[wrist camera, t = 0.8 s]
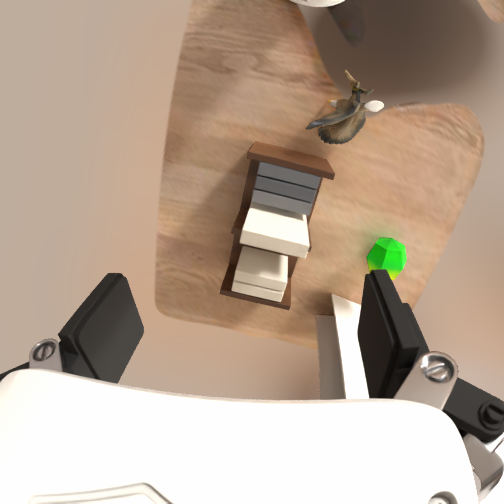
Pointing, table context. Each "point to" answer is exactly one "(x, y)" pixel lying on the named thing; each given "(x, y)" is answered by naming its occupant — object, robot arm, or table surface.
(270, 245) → the white book
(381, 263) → the apple
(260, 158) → the book rack
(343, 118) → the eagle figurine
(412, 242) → the table surface
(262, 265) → the white books
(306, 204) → the grey books
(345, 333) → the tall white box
